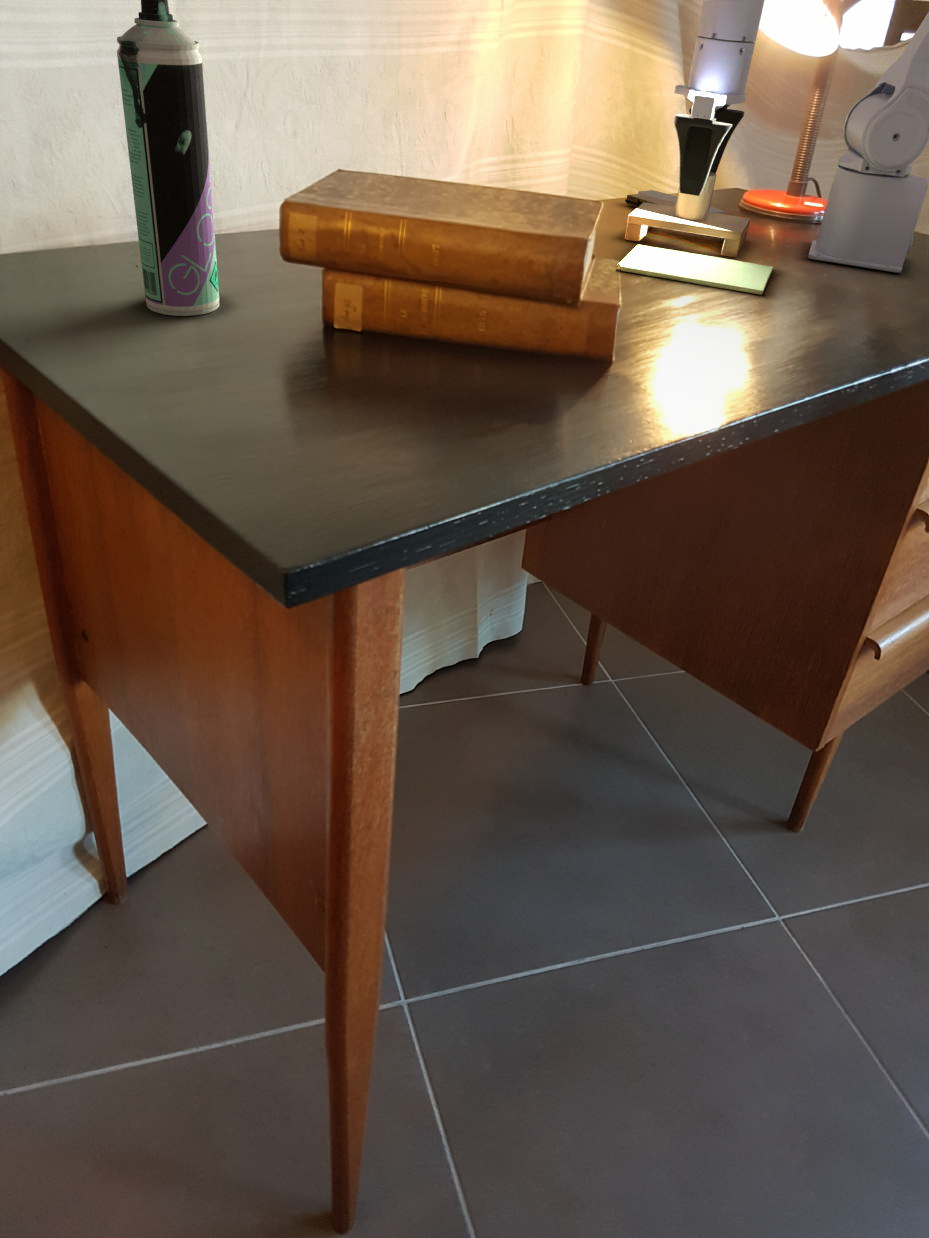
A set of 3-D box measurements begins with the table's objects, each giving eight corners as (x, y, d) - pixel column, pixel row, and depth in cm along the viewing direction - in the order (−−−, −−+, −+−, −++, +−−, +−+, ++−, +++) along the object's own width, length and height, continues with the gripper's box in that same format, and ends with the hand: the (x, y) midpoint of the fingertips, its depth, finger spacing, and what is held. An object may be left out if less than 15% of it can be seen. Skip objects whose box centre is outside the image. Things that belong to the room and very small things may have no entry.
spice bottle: (709, 216, 104) (724, 147, 100) (704, 222, 101) (719, 152, 97) (677, 211, 105) (690, 143, 101) (671, 217, 102) (684, 147, 98)
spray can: (201, 320, 71) (175, 1, 60) (133, 310, 72) (93, -7, 60) (230, 299, 75) (211, 0, 64) (166, 290, 76) (135, -8, 65)
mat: (772, 270, 96) (773, 266, 96) (761, 295, 88) (763, 290, 88) (636, 248, 100) (637, 244, 100) (615, 269, 92) (616, 265, 92)
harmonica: (624, 205, 117) (627, 188, 116) (641, 204, 119) (644, 186, 118) (713, 233, 108) (717, 215, 107) (731, 231, 110) (735, 213, 109)
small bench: (745, 242, 106) (750, 218, 104) (736, 257, 100) (741, 232, 98) (639, 225, 109) (643, 202, 107) (624, 239, 103) (628, 215, 101)
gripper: (697, 32, 100) (670, 172, 108) (672, 37, 89) (645, 193, 96) (764, 40, 98) (733, 182, 106) (748, 46, 87) (714, 204, 95)
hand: (695, 188), depth 101 cm, fingers open, 7 cm apart
